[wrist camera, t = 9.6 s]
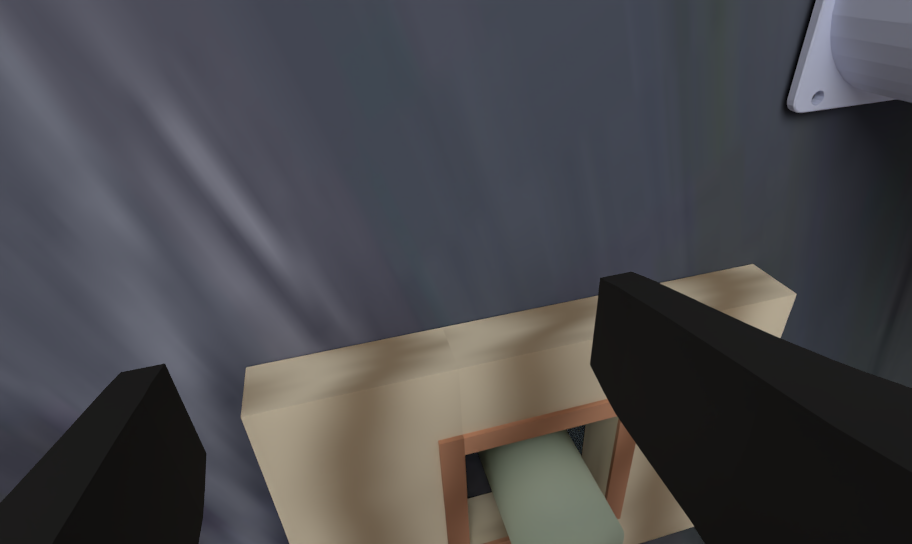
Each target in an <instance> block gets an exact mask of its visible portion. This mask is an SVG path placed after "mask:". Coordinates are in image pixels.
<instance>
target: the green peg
mask: <svg viewBox="0 0 912 544" xmlns="http://www.w3.org/2000/svg"><path fill="white" fill-rule="evenodd" d="M478 455H479V458H480V460H481V463H482V466H483V469H484V471H485V474H486V477H487V479H488V482H489V485H490V487H491V490H492V493H493V496H494V498H495V501H496V504H497V506H498V509H499V512H500V514H501V517H502V520H503V523H504V525H505V528H506V531H507V533H508V536H509V539H510V541H511V544H623V541H624V531H623V529H622V527H621V525H620V523H619V521H618V520H617V518H616V516H615V514H614V513H613V511H612V509H611V507H610V506H609V504H608V502H607V500H606V499H605V497H604V495H603V493H602V492H601V490H600V488H599V486H598V485H597V483H596V481H595V479H594V478H593V476H592V474H591V472H590V471H589V469H588V467H587V465H586V464H585V462H584V460H583V458H582V457H581V455H580V453H579V451H578V450H577V448H576V446H575V444H574V443H573V441H572V439H571V437H570V436H569V434H568V432H567V430H566V429H565V430H561V431H558V432H554V433H550V434H546V435H542V436H538V437H534V438H530V439H526V440H522V441H518V442H514V443H511V444H507V445H503V446H499V447H495V448H491V449H487V450H483V451H479V452H478Z"/></svg>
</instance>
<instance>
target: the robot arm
mask: <svg viewBox="0 0 912 544" xmlns="http://www.w3.org/2000/svg"><path fill="white" fill-rule="evenodd" d="M814 94H815V96H814V98H813V99H812V97H813V95H814ZM897 99H898V100H902V101H906V102H910V103H912V0H816V2H815V5H814V8H813V12H812V15H811V19H810V22H809V26H808V29H807V33H806V36H805V40H804V43H803V47H802V50H801V53H800V57H799V60H798V64H797V67H796V71H795V74H794V78H793V81H792V85H791V88H790V92H789V95H788V99H787V107H788V109H790V110H791V111H794V112H797V113H805V112H812V111H819V110H826V109H833V108H840V107H848V106H855V105H862V104H869V103H876V102H883V101H890V100H897ZM590 366H591V368H592V370H593V372H594V374H595V376H596V378H597V380H598V382H599V384H600V386H601V388H602V390H603V392H604V394H605V396H606V397H607V399H608V401H609V403H610V405H611V407H612V408H613V410H614V412H615V414H616V415H617V417H618V418H619V420H620V421H621V423H622V424H623V425H624V427H625V428H626V430H627V431H628V433H629V434H630V436H631V437H632V438H633V440H634V441H635V443H636V444H637V446H638V447H639V449H640V450H641V451H642V453H643V454H644V456H645V457H646V459H647V460H648V461H649V463H650V464H651V466H652V467H653V468H654V470H655V471H656V473H657V474H658V476H659V477H660V478H661V480H662V481H663V483H664V484H665V485H666V487H667V488H668V490H669V491H670V493H671V494H672V495H673V497H674V498H675V500H676V501H677V502H678V504H679V505H680V507H681V508H682V510H683V511H684V512H685V514H686V515H687V517H688V518H689V519H690V521H691V522H692V524H693V525H694V527H695V529H696V530H697V532H698V533H699V535H700V536H701V538H702V539H703V541H704V542H705V544H912V388H909V387H906V386H903V385H901V384H898V383H895V382H892V381H889V380H886V379H883V378H880V377H877V376H875V375H872V374H869V373H866V372H863V371H861V370H858V369H855V368H853V367H850V366H847V365H845V364H842V363H839V362H837V361H834V360H832V359H829V358H827V357H824V356H822V355H820V354H817V353H815V352H812V351H810V350H807V349H805V348H802V347H800V346H797V345H795V344H793V343H790V342H788V341H785V340H783V339H781V338H779V337H776V336H774V335H772V334H769V333H767V332H765V331H762V330H760V329H758V328H756V327H753V326H751V325H749V324H747V323H745V322H742V321H740V320H738V319H736V318H734V317H731V316H729V315H727V314H725V313H723V312H721V311H718V310H716V309H714V308H712V307H710V306H708V305H706V304H703V303H701V302H699V301H697V300H695V299H693V298H691V297H689V296H686V295H684V294H682V293H680V292H678V291H676V290H673V289H671V288H669V287H667V286H665V285H662V284H660V283H658V282H656V281H653V280H651V279H649V278H646V277H644V276H641V275H639V274H636V273H633V272H628V273H623V274H618V275H613V276H608V277H603V278H600V286H599V294H598V302H597V310H596V318H595V326H594V335H593V343H592V351H591V359H590ZM205 472H206V452H205V450H204V447H203V445H202V443H201V441H200V439H199V437H198V434H197V432H196V430H195V428H194V426H193V424H192V421H191V419H190V417H189V415H188V413H187V411H186V408H185V406H184V404H183V402H182V400H181V398H180V395H179V393H178V391H177V389H176V387H175V385H174V382H173V380H172V378H171V376H170V374H169V372H168V369H167V367H166V365H165V364H161V365H156V366H151V367H146V368H141V369H136V370H131V371H125V372H121V373H120V374H119V375H118V376H117V377H116V378H115V379H114V380H113V381H112V382H111V383H110V384H109V385H108V386H107V387H106V388H105V389H104V390H103V392H102V393H101V394H100V395H99V396H98V397H97V398H96V399H95V400H94V401H93V402H92V404H91V405H90V406H89V407H88V408H87V409H86V410H85V411H84V412H83V413H82V415H81V416H80V417H79V418H78V419H77V420H76V421H75V422H74V423H73V425H72V426H71V427H70V428H69V429H68V430H67V431H66V432H65V433H64V435H63V436H62V437H61V438H60V439H59V440H58V441H57V442H56V443H55V444H54V446H53V447H52V448H51V449H50V450H49V451H48V452H47V453H46V454H45V455H44V456H43V457H42V459H41V460H40V461H39V462H38V463H37V464H36V465H35V466H34V467H33V468H32V469H31V470H30V472H29V473H28V474H27V475H26V476H25V477H24V478H23V479H22V480H21V481H20V482H19V483H18V485H17V486H16V487H15V488H14V489H13V490H12V491H11V492H10V493H9V494H8V495H7V496H6V497H5V499H4V500H3V501H2V502H1V503H0V544H198V542H199V537H200V531H201V525H202V519H203V508H204V493H205Z"/></svg>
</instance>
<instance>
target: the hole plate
mask: <svg viewBox="0 0 912 544" xmlns="http://www.w3.org/2000/svg"><path fill="white" fill-rule="evenodd" d="M660 284H662V285H665V286H667V287H669V288H671V289H673V290H676V291H678V292H680V293H682V294H684V295H686V296H689V297H691V298H693V299H695V300H697V301H699V302H701V303H703V304H706V305H708V306H710V307H712V308H714V309H716V310H718V311H721V312H723V313H725V314H727V315H729V316H731V317H734V318H736V319H738V320H740V321H742V322H745V323H747V324H749V325H751V326H753V327H756V328H758V329H760V330H762V331H765V332H767V333H769V334H772V335H774V336H776V337H779V338H781V335H782V332H783V330H784V327H785V324H786V322H787V319H788V316H789V314H790V311H791V308H792V306H793V303H794V300H795V297H796V295H797V294H796V293H794V292H793V291H792V290H790V289H789V288H787V287H786V286H784V285H783V284H781V283H780V282H778V281H777V280H775V279H774V278H773V277H771V276H770V275H768V274H767V273H765V272H764V271H762V270H761V269H759V268H758V267H757V266H755V265H754V264H751V265H746V266H741V267H736V268H731V269H726V270H721V271H716V272H711V273H707V274H702V275H697V276H692V277H687V278H682V279H677V280H672V281H667V282H662V283H660ZM597 302H598V296H594V297H589V298H584V299H579V300H574V301H569V302H564V303H559V304H555V305H550V306H545V307H540V308H535V309H530V310H525V311H520V312H515V313H510V314H506V315H501V316H496V317H491V318H486V319H481V320H476V321H471V322H466V323H461V324H457V325H452V326H447V327H442V328H437V329H432V330H427V331H422V332H417V333H412V334H408V335H403V336H398V337H393V338H388V339H383V340H378V341H373V342H368V343H363V344H359V345H354V346H349V347H344V348H339V349H334V350H329V351H324V352H319V353H314V354H310V355H305V356H300V357H295V358H290V359H285V360H280V361H275V362H270V363H265V364H261V365H256V366H251V367H246V373H245V383H244V392H243V402H242V411H241V419H242V421H243V424H244V427H245V429H246V432H247V434H248V437H249V440H250V442H251V445H252V447H253V450H254V453H255V455H256V458H257V460H258V463H259V465H260V468H261V471H262V473H263V476H264V478H265V481H266V484H267V486H268V489H269V491H270V494H271V497H272V499H273V502H274V504H275V507H276V509H277V512H278V515H279V517H280V520H281V522H282V525H283V528H284V530H285V533H286V535H287V538H288V541H289V543H290V544H511V541H510V539H509V536H508V533H507V531H506V528H505V525H504V523H503V520H502V517H501V514H500V512H499V509H498V506H497V504H496V501H495V498H494V496H493V493H492V492H491V493H487V494H483V495H480V496H476V497H472V498H469V499H467V482H466V465H465V455H467V454H471V453H475V452H479V451H483V450H487V449H491V448H495V447H499V446H503V445H507V444H511V443H514V442H518V441H522V440H526V439H530V438H534V437H538V436H542V435H546V434H550V433H554V432H558V431H561V430H565V429H569V428H573V427H577V426H581V425H585V424H586V425H585V433H584V441H583V449H582V458H583V460H584V462H585V464H586V465H587V467H588V469H589V471H590V472H591V474H592V476H593V478H594V479H595V481H596V483H597V485H598V486H599V488H600V490H601V492H602V493H603V495H604V497H605V499H606V500H607V502H608V504H609V506H610V507H611V509H612V511H613V513H614V514H615V516H616V518H617V520H618V521H619V523H620V525H621V527H622V529H623V531H624V541H623V544H640V543H643V542H646V541H649V540H652V539H656V538H659V537H662V536H665V535H669V534H672V533H675V532H678V531H681V530H685V529H688V528H691V527H694V525H693V524H692V522H691V521H690V519H689V518H688V517H687V515H686V514H685V512H684V511H683V510H682V508H681V507H680V505H679V504H678V502H677V501H676V500H675V498H674V497H673V495H672V494H671V493H670V491H669V490H668V488H667V487H666V485H665V484H664V483H663V481H662V480H661V478H660V477H659V476H658V474H657V473H656V471H655V470H654V468H653V467H652V466H651V464H650V463H649V461H648V460H647V459H646V457H645V456H644V454H643V453H642V451H641V450H640V449H639V447H638V446H637V444H636V443H635V441H634V440H633V438H632V437H631V436H630V434H629V433H628V431H627V430H626V428H625V427H624V425H623V424H622V423H621V421H620V420H619V418H618V417H617V415H616V414H615V412H614V410H613V408H612V407H611V405H610V403H609V401H608V399H607V397H606V396H605V394H604V392H603V390H602V388H601V386H600V384H599V382H598V380H597V378H596V376H595V374H594V372H593V370H592V368H591V366H590V359H591V351H592V343H593V335H594V326H595V318H596V310H597Z"/></svg>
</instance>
